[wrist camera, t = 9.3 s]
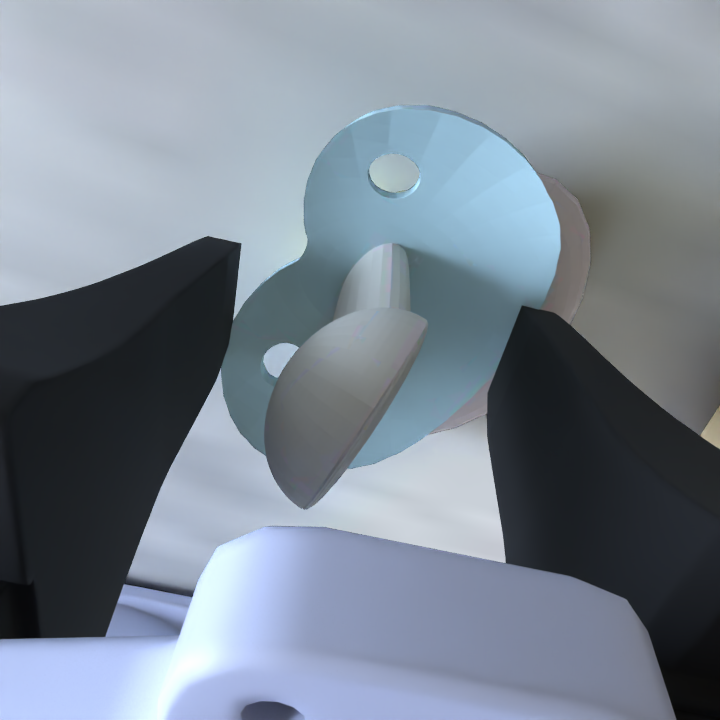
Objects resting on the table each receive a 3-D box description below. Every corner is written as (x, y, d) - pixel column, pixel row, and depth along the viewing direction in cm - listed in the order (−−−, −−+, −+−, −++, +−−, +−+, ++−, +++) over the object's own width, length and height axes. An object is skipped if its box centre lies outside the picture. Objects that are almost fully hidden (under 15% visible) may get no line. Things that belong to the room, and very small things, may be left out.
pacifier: (656, 205, 12) (374, 32, 11) (855, 423, 7) (358, 146, 6) (442, 457, 16) (212, 355, 14) (468, 720, 11) (112, 602, 9)
